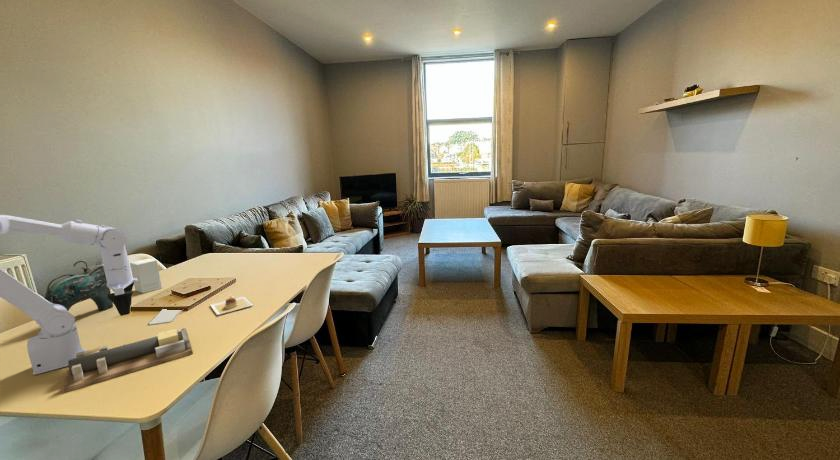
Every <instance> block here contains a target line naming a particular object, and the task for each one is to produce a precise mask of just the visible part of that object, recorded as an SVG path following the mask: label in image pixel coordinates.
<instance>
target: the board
mask: <svg viewBox="0 0 840 460" xmlns="http://www.w3.org/2000/svg"><path fill="white" fill-rule="evenodd" d="M176 330H177V334H178V339H179V341H178V342H174V343H170V344H167V345H163V346H160V347H156V348H155V350H156V352H152V353H149V354H145V355H142V356H138V357H135V358H132V359H128V360H125V361H121V362H118V363H114V364H111V365H107V364H106V360H105V357H104V358H100V359H97V367H98V368H97V369H93V370H90V371H86V372H83V371H82V367H81V364H78V365H74V366H72V373H73V376H71V375H70V372H69V371H68V373H67V377H66V379H65V383H64V385H63V393H66V392H70V391H73V390H76V389H77V390H78V389H80V388H84V387H86V386H90V385H93V384H96V383H100V382H102V381H106V380H109V379H113V378H116V377H120V376H122V375H125V374H129V373H133V372H136V371H140V370H143V369H146V368H150V367H152V366H156V365H159V364H164V363H166V362H170V361H172V360H173V361H174V360H176V359H179V358H183V357H186V356H190V355H192V354H194V352H193V347H192V343H191V340H190V337H189V334H188V332H187V331H188V330H187V328H186V327H185V328H182V329H176ZM153 337H157V335H155V336H153ZM108 349H109V347H108V345H103V346H100V347H99V349H98V352H100V351H104V350H108ZM86 355H87V354H85V351H83V352H80V353H77V354H76V358H78V357H82V356H86Z"/></svg>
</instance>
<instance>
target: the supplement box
mask: <svg viewBox="0 0 840 460" xmlns="http://www.w3.org/2000/svg"><path fill="white" fill-rule="evenodd" d="M129 266H130V271H131V276H132V279H133V278H137V282H134V285H133V287H134V290H135V292H138V293H141V294H145V293H150V292H152V291H156V290H160V289H162V281H161V277H160V271H159V265H158V260H156V259H152V258H150V257H149V258H145V259H141V260H135V261H131V262H129Z"/></svg>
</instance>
